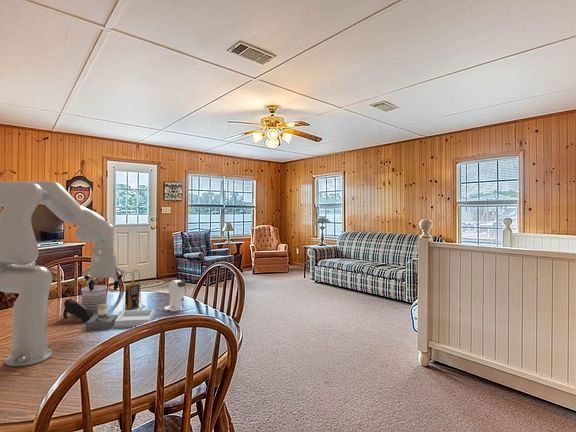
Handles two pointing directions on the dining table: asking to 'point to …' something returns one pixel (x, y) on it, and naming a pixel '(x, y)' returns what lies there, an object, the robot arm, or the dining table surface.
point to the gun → (76, 310)
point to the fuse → (102, 311)
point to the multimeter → (132, 294)
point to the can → (93, 297)
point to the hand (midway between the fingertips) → (103, 289)
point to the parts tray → (134, 318)
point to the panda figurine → (176, 294)
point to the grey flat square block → (101, 322)
